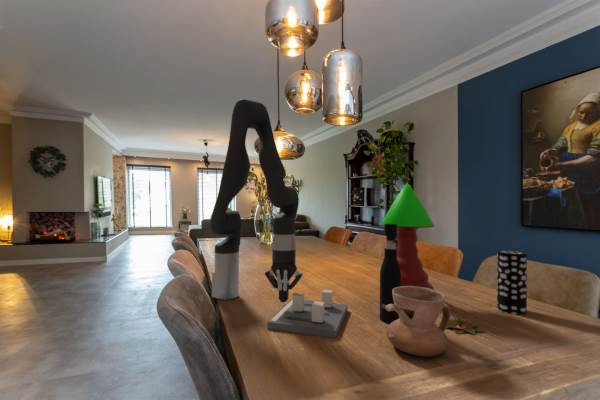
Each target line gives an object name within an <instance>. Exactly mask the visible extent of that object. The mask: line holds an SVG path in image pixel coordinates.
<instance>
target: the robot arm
mask: <svg viewBox="0 0 600 400" xmlns="http://www.w3.org/2000/svg"><path fill="white" fill-rule="evenodd" d="M248 129H252V130H255V132H256V134H257V136H258V138H259V151H258V161H259V165H260V168H261V170H262V173H263V176H264V179H265V183H266V192H267V197H268V200H269V202H270V203H271V204H272V206H274V207H275V208H277V209H279V210H278V211H279V212H278V214H277V216H275V217H274V218H273V222H272V223H273V224H272V225H273V226H272V228H273V229H272V230H273V231H272V232H273V234H272V243H271V244H272V249H271V250H272V252H271V253H272V255H271V258H272V259H271V260H272V265H271V267H270V269H269V270H267V271H265V272H264V276H265V277H266V278H267V280H268V281H269V283H270V284H271V286H272V288H274V289H276V290H278V300H279V301H280V303H287V302H288V300H289V293H290V292H289V291H290V290H292V289H293V288H294V287H296V285H298V283H299V282H300V280H301V279H302V278H303V276H304V274H303V272H299V270H298V267H297V265H296V263H297V262H296V250H297V249H296V248H297V243H296V241H297V240H296V222H295V220H296V219H297V213H298V209H299V203H300V198H299V193H298V191H297V189H295V188H294V187H292V186H286V184H285V178H286V177H287V173H286V169H285V167H284V164H283V161H282V160H281V157H280V155H279V152H278V149H277V145H276V141H275V138H274V132H273V127H272V124H271V119H270V116H269V112H268V109H267V107H266V106H265V105H264V104H263V103H261V102H258V101H254V100H251V99H245V98H240V99H238V101H236V103H235V104H234V107H233V110H232V115H231V122H230V133H229V140H228V145H227V152H226V155H225V156H226V157H225V161H224V164H223V169H222V173H221V174H222V175H221V178H220V183H219V189H218V192H217V197H216V200H215V203H214V207H213V211H212V213H211V216H210V224H209V225H210V230H211V233H212V234H214V235H217V236H218V235H219V236H221V235H222V236H224V235H227V236H226V238H225V239H224V240H222V241H220V242H218V243H216V244H215V246H214V271H212V273H211V275H212V276H211V298H214V299H217V300H225V301H226V300H232V299H233V300H234V299H236V298H238V297H239V288H240V286H239V285H240V280H239V279H240V276H239V275H240V246H241V236H242V217H241V214H240V212H239V211H237V210H228V208H229V205H230V204H231V202H232V200H234V198H235V197H236V196H237V195H238V194H239V193H240V192H241V191H242V189H244V188H245V185H246V184H247V182H248V177H249V175H250V169H251V163H250V158H249V155H248V151H247V147H246V139H247V133H248ZM293 276H294V279H293V281H292V282H291V279H292V277H293Z"/></svg>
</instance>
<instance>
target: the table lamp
mask: <svg viewBox="0 0 600 400" xmlns="http://www.w3.org/2000/svg"><path fill="white" fill-rule="evenodd" d="M392 202H393V203H392V204H391V206H390V207H389V209H388V210H387V212H386V214H385V216H384V218H383V220H382V221H381V224H380V225H381V226H383V227H384V224H397V235H396V240H397V244H396V249H397V260H398V263H399V266H400V270H401V286H415V287H423V288H429V289H432V290H435V288H434V287H433V285H432V284H431V283H430V281H429V275H428V273H427V272H426V271H425V270H424V269H423V262H422V260H421V259H420V257H419V249H418V246H417V241H418V235H417V231H418V229H423V228H425V229H427V228H434V227H435V224H434V223H433V221H432V219H431V217H430V214H428V211H427V210H426V209H425V207H424V205H423V203H422V201H421V200H420V198H419V197H418V195H417V193H416V192H415V191H414V190H413V188H412V186H411V185H410V184H409V183H408V182H406V183H405V184H404V185H403V187H402V189H401V190H400V192H399V193H398V194H397V196H396V197H395V199H394V200H393V201H392Z"/></svg>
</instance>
